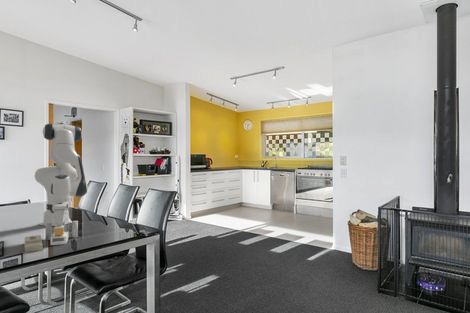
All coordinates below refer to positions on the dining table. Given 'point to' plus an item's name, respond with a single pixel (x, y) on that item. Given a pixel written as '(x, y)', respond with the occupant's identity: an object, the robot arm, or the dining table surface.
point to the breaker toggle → (59, 230)
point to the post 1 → (48, 231)
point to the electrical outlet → (33, 243)
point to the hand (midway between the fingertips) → (61, 229)
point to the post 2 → (74, 229)
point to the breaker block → (59, 238)
